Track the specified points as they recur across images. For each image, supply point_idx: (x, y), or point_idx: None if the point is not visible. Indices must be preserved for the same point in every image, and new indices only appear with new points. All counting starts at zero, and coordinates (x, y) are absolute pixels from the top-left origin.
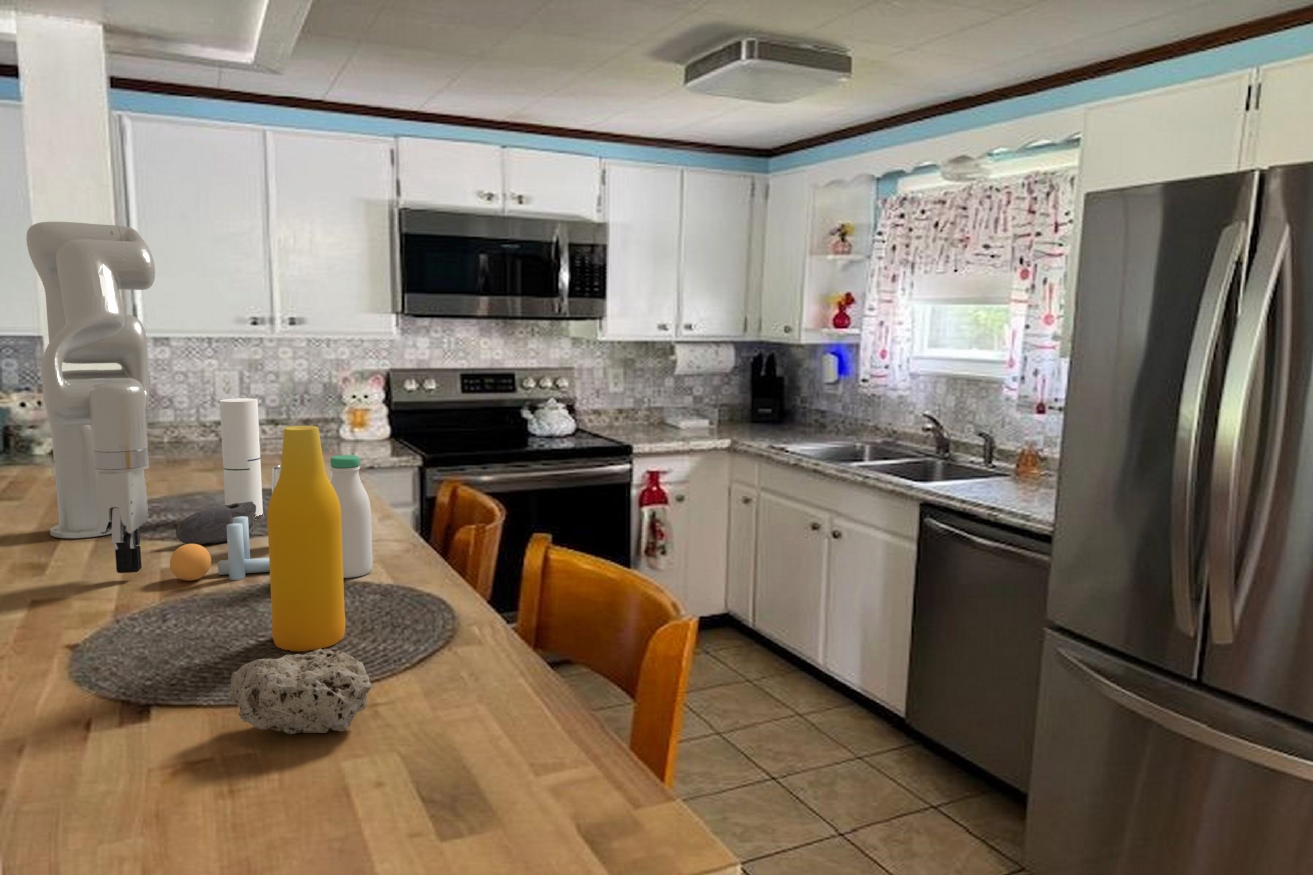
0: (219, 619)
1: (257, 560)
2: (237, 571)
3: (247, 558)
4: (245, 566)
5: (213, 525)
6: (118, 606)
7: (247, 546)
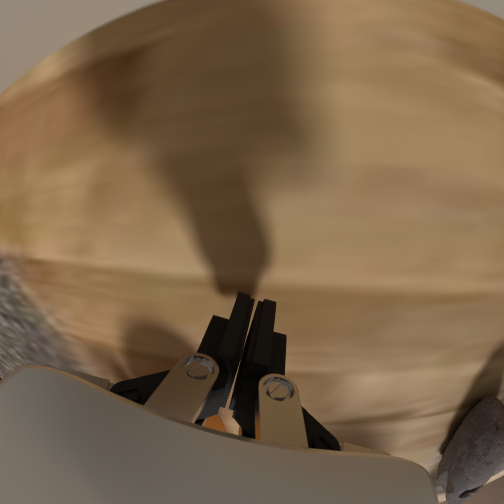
0: (16, 362)
1: None
2: None
3: None
4: None
5: (459, 461)
6: (43, 265)
7: None
